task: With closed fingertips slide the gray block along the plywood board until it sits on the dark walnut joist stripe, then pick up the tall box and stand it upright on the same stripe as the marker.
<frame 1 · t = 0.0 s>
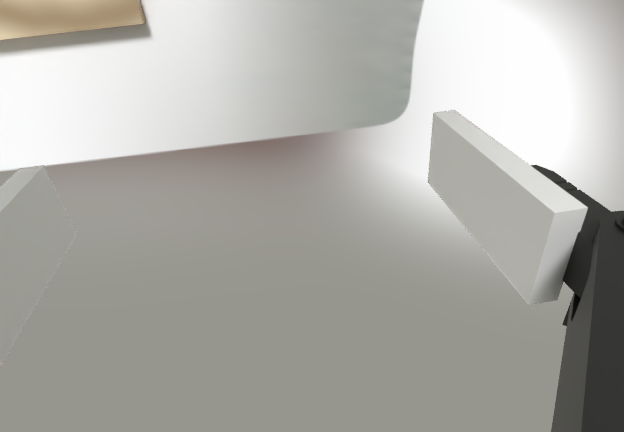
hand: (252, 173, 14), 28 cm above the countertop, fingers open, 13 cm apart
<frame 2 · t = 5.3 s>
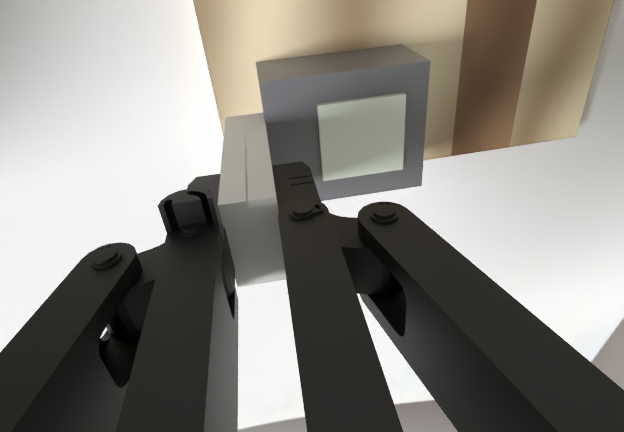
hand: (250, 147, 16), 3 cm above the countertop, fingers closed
gray block: (333, 113, 18), point 1 cm above the countertop, touching board, gripper
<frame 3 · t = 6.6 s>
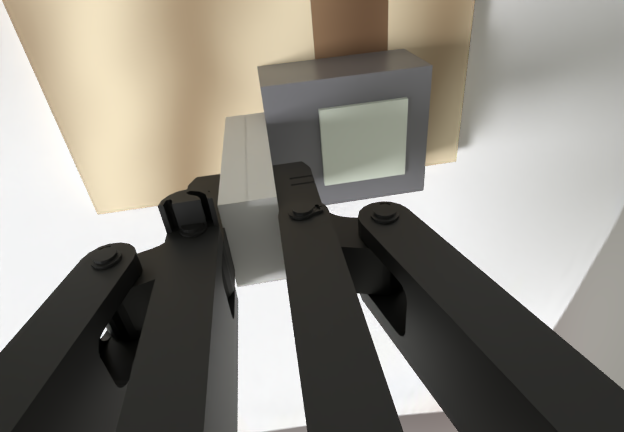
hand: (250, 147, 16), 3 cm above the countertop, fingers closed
gray block: (334, 117, 18), point 1 cm above the countertop, touching board, gripper
board: (258, 21, 17), on the countertop
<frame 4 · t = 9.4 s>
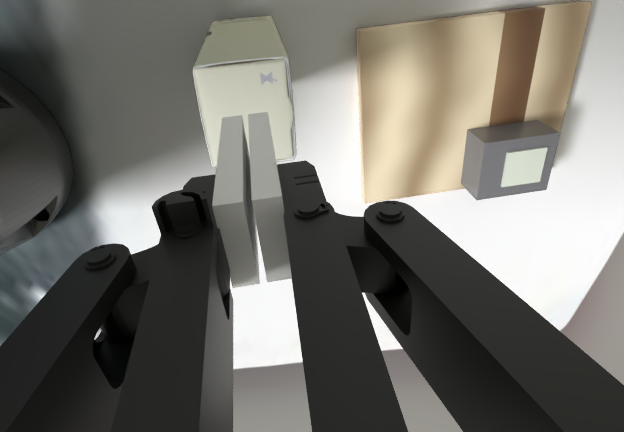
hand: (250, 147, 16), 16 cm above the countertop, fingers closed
gray block: (497, 152, 35), point 1 cm above the countertop, touching board
box: (247, 56, 30), on the countertop
board: (460, 108, 34), on the countertop
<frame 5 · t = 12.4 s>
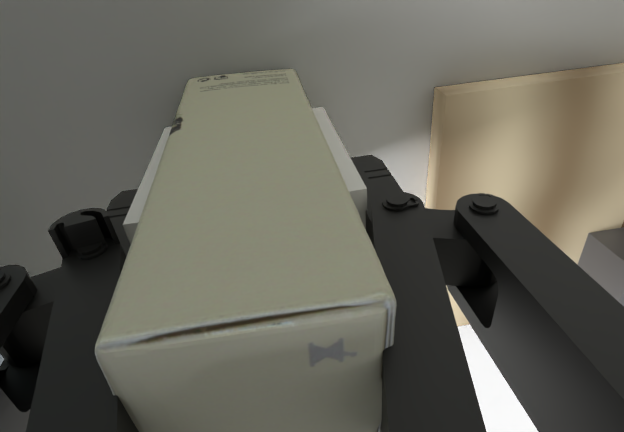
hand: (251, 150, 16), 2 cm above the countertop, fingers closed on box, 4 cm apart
box: (251, 132, 18), on the countertop, touching gripper
board: (577, 199, 22), on the countertop
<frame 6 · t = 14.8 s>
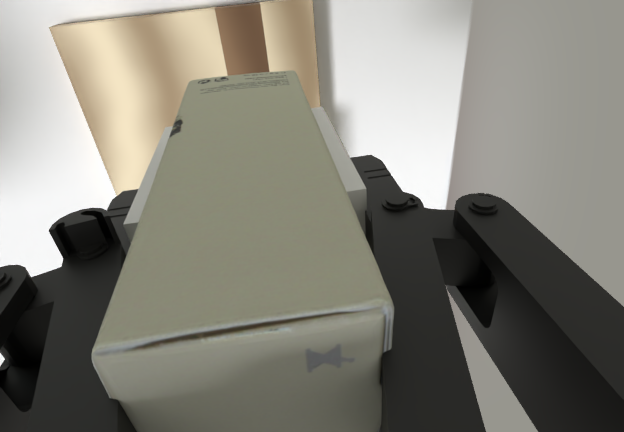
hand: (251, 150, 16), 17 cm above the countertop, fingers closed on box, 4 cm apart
box: (251, 134, 18), point 15 cm above the countertop, touching gripper
board: (208, 110, 32), on the countertop
when the fingers open (4 cm above the countertop, at t = 17.3 s): box drops 1 cm, resting on board.
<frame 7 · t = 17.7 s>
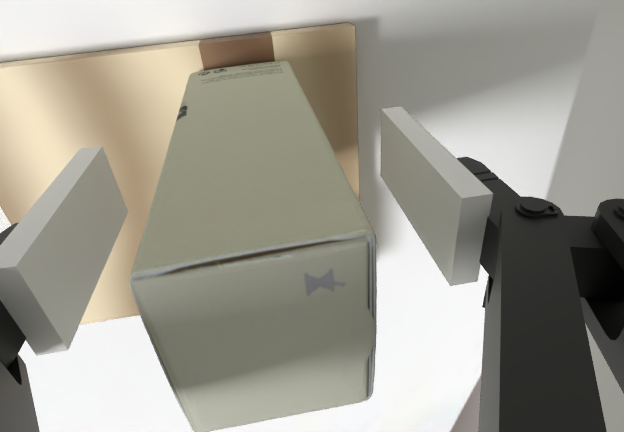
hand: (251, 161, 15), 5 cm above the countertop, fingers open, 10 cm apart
box: (249, 122, 19), point 1 cm above the countertop, touching board
board: (193, 188, 21), on the countertop
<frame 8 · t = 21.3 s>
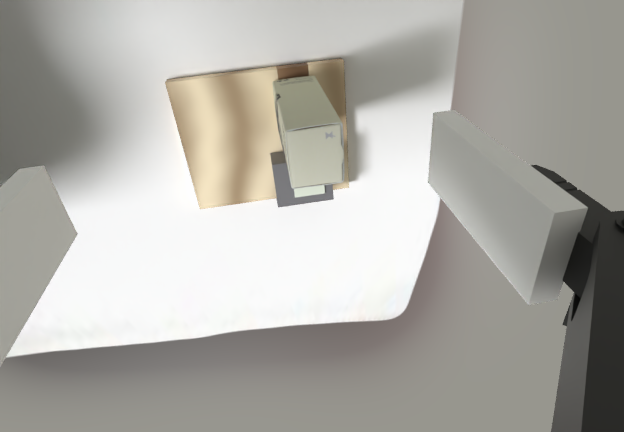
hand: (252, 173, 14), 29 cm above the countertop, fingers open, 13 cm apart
gray block: (300, 170, 45), point 1 cm above the countertop, touching board
box: (296, 103, 41), point 1 cm above the countertop, touching board
board: (266, 136, 44), on the countertop
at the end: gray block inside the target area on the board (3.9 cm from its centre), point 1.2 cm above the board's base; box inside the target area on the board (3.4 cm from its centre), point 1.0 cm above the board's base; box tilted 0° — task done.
